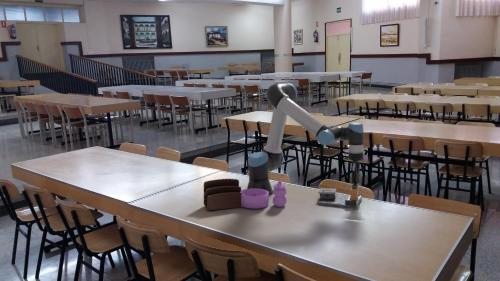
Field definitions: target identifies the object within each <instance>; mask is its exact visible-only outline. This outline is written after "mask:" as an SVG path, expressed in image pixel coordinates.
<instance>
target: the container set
mask: <svg viewBox="0 0 500 281" xmlns="http://www.w3.org/2000/svg"><path fill="white" fill-rule="evenodd" d="M272 188H273V189H272V194H273V195H274V196H273V198H272V203H273V205H274V206H275V207H280V208H281V207H285V205H286V204H287V201H288V200H287V197H286V195H287V192H288V191H287V185H286V184H285V183H283V181H282V180H278V181H277V183H275V184H274V185H273V187H272ZM240 193H243V194H241V206H243V207H242V208H247V209H263V208H266V207H268V206H269V196H270V195H269V192H268V191H267V190H264V189H256V188H252V189H247V188H244V189H241V192H240Z"/></svg>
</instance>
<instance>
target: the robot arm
mask: <svg viewBox="0 0 500 281" xmlns="http://www.w3.org/2000/svg"><path fill="white" fill-rule="evenodd" d="M265 97H266V100H267V102H268V103H269V104H270V105H271V106H272V107H273V110H272V114H271V115H272V116H271V121H270V126H269V131H268V137H267V141H266V145H264V146H263V149H262V151H257V152H253V153H251V154H250V155H248V159H247V165H248V166H247V167H248V184H247V187H246V189H252V188H256V189H264V190H267V191H268V192H269V196H270V195H272V194H273V187H272V184H271V182H270V176H269V174H270V172H273V171H275V170H277V169H279V168H281V166H282V165H283V164H284V161H285V159H284V155H283V149H282V144H283V137H284V133H285V132H284V131H285V128H286V123H287V117H290V118H291V120H293V121H295V122H296V123H297V124H299V125H300V126H301V127H303V128H304V129H305V130H307V131H308V132H310V133H311V134H312V135H313V136H315V137H316V138H317V141H318V143H319V144H321V145H322V146H328V145H332V144H333V143H335V142H338V141H348V145H347V148H348V159H349V160H350V161H352V162H351V163H350V165H351V167H350V169H351V184H352V185H356V188H358V189H359V183H361V180H360V170H361V162H360V161H362V160H364V153H363V152H364V124H363V123H362V122H349V123H348V126H343V125H342V126H341V125H328V126H327V125H325V124H324V123H323V122H321V121H320V120H319V119H318V118H316V117H315V116H313V115H312V114H311V113H309V112H308V111H306V110H305V109H304V108H303V107H301V106H300V105H298V104H297V103H296V102H295V100H297V97H298V91H297V88H296V86H295V85H294V84H292V83H291V82H290V83H289V82H281V83H274V84H271V85H270V86H269V87H268V88H267V90H266V91H265Z"/></svg>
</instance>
